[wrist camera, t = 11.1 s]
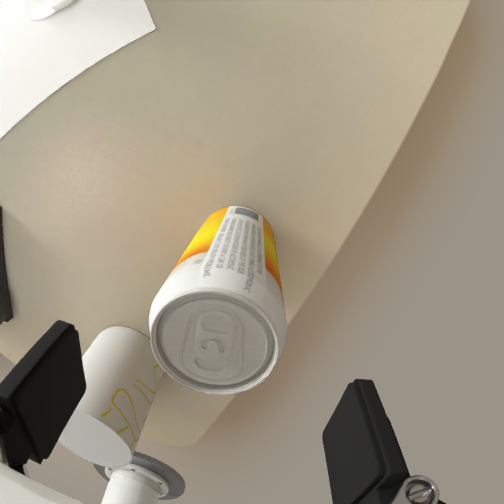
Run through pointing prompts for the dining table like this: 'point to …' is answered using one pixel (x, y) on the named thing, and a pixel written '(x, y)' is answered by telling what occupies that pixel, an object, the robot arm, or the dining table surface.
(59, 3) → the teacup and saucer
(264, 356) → the beer can
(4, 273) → the scale
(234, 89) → the dining table surface
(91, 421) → the cup
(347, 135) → the dining table surface
